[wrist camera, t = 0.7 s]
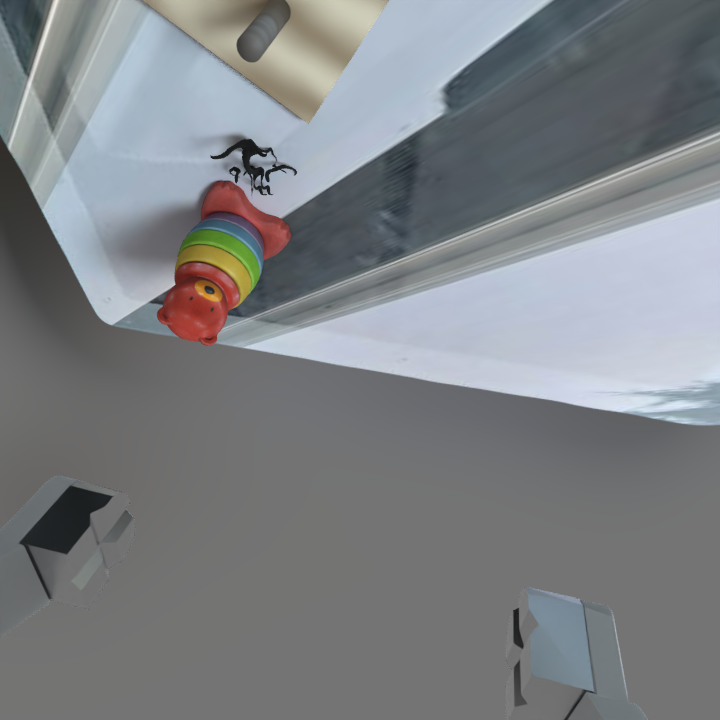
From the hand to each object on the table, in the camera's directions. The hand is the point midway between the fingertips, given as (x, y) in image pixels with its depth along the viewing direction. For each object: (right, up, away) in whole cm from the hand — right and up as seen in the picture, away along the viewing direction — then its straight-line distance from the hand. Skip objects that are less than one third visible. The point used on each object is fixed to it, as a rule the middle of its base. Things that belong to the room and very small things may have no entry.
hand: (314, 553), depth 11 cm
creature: (-10, +26, +49) cm, 56 cm away
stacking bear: (-14, +21, +56) cm, 61 cm away
